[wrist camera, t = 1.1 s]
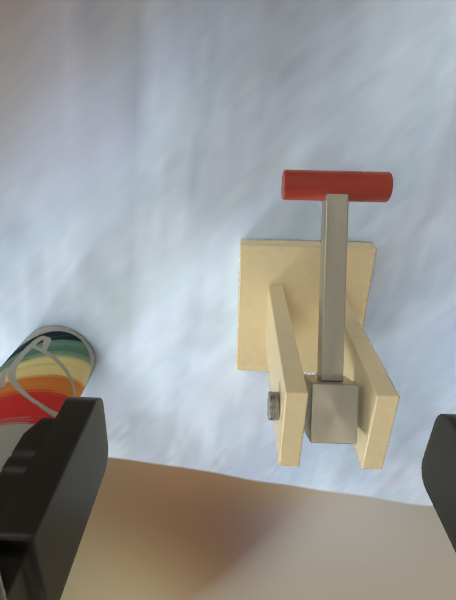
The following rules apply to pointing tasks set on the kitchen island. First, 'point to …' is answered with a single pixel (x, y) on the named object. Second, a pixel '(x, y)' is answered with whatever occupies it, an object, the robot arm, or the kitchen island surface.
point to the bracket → (309, 340)
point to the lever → (333, 295)
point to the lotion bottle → (40, 381)
